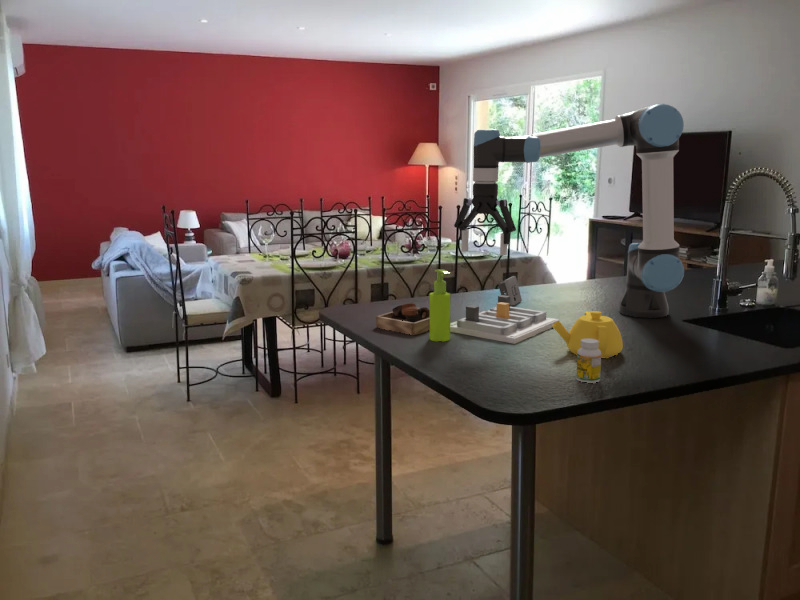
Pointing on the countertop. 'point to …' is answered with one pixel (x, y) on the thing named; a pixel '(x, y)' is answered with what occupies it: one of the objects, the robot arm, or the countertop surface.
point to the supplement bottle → (589, 361)
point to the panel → (505, 338)
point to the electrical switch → (511, 290)
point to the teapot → (592, 333)
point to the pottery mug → (410, 312)
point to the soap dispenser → (440, 309)
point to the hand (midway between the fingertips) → (483, 253)
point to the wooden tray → (402, 324)
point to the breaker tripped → (502, 310)
